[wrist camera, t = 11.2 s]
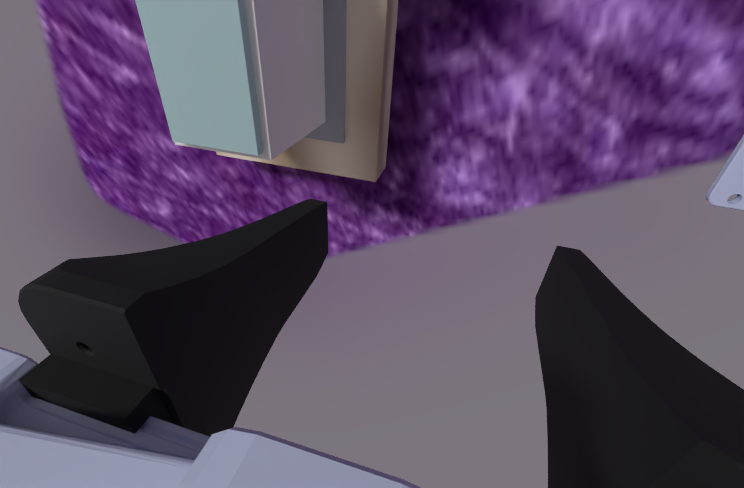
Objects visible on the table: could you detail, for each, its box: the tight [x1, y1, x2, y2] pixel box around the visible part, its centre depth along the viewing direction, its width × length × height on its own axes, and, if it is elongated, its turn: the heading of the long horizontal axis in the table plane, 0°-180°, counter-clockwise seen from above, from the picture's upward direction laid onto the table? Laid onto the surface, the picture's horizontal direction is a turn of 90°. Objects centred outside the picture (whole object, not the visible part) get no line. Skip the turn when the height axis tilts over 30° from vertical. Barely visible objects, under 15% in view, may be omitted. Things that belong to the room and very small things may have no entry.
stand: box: [216, 0, 399, 182], centre depth 18 cm, size 10×14×2 cm
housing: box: [135, 0, 326, 160], centre depth 15 cm, size 8×4×6 cm, turn 178°
